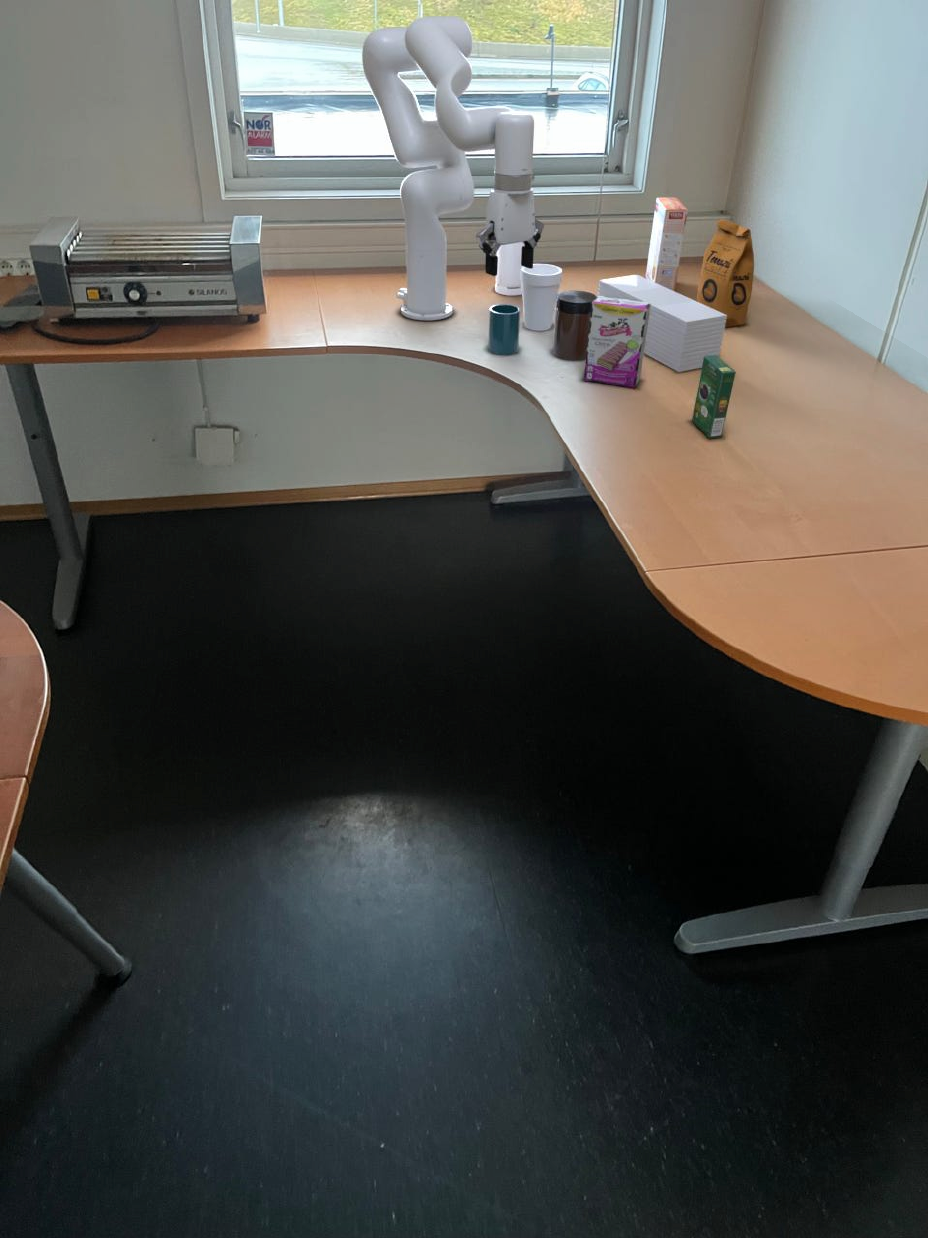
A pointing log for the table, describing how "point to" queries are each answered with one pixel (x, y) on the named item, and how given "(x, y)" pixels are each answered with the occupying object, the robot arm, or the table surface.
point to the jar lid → (575, 301)
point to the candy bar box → (616, 341)
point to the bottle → (509, 269)
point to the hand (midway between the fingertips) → (509, 270)
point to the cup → (504, 329)
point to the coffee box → (713, 396)
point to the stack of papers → (671, 322)
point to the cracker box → (666, 242)
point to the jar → (571, 335)
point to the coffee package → (728, 273)
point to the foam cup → (540, 295)
